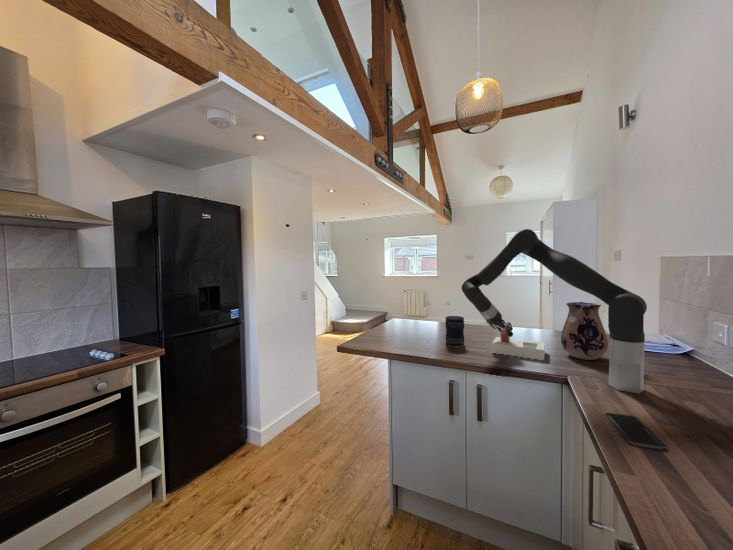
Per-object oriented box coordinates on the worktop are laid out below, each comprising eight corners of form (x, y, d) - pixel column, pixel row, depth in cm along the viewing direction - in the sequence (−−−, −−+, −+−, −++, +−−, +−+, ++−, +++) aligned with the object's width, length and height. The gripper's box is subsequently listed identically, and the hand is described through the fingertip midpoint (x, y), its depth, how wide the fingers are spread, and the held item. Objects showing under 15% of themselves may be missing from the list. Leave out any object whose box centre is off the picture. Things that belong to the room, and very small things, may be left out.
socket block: (544, 360, 133) (544, 349, 133) (491, 353, 145) (491, 343, 144) (544, 352, 145) (544, 342, 145) (496, 346, 157) (496, 336, 156)
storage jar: (466, 343, 163) (466, 316, 162) (461, 348, 154) (461, 320, 154) (448, 341, 168) (448, 315, 167) (443, 345, 160) (442, 318, 159)
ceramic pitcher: (567, 361, 132) (568, 306, 130) (554, 348, 152) (554, 299, 150) (615, 365, 126) (616, 307, 125) (595, 350, 146) (595, 300, 145)
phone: (628, 442, 73) (603, 412, 87) (628, 446, 73) (603, 415, 87) (669, 448, 70) (637, 416, 84) (669, 453, 70) (637, 420, 84)
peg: (508, 342, 145) (508, 326, 145) (500, 341, 147) (500, 325, 147) (510, 340, 148) (510, 324, 148) (501, 339, 150) (501, 323, 150)
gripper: (505, 308, 137) (524, 331, 143) (482, 305, 151) (500, 326, 156) (497, 321, 136) (516, 343, 141) (474, 316, 149) (492, 337, 154)
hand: (507, 334), depth 148 cm, fingers closed on peg, 4 cm apart
